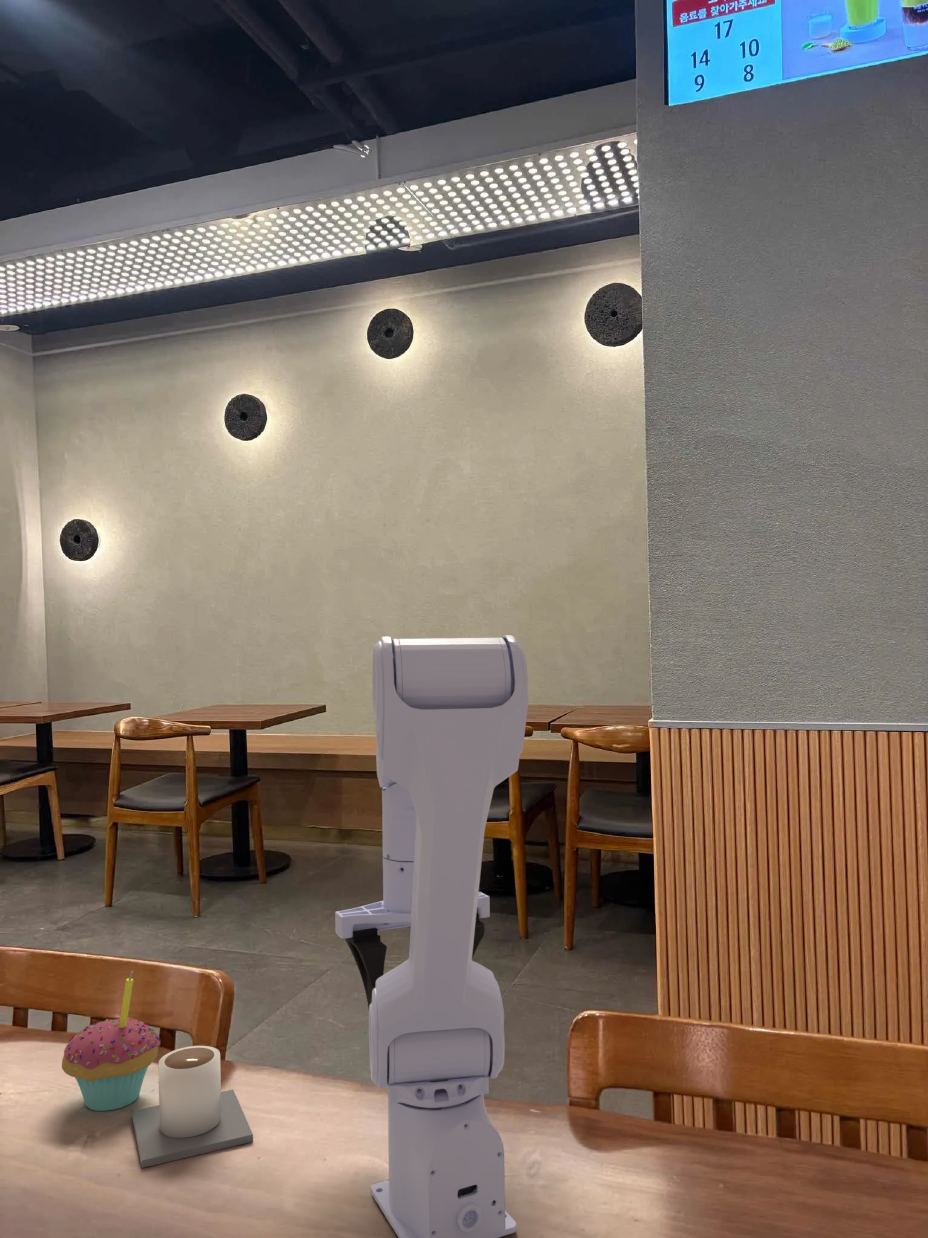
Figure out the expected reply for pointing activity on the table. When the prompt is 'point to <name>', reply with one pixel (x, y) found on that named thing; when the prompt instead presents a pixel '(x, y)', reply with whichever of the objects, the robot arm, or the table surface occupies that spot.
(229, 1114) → the coaster
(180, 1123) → the cup
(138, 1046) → the cupcake
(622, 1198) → the table surface
